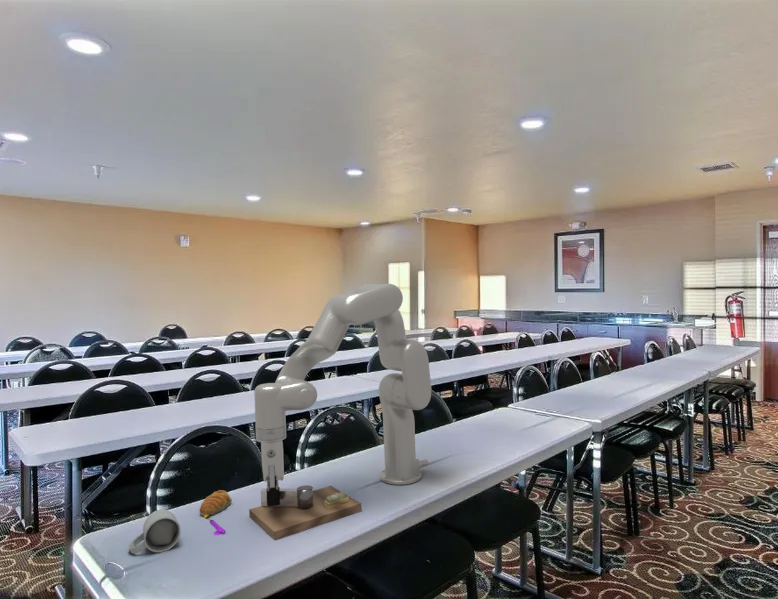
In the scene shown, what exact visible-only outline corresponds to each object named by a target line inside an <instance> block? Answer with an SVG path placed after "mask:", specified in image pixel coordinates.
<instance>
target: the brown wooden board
mask: <svg viewBox="0 0 778 599" xmlns="http://www.w3.org/2000/svg"><path fill="white" fill-rule="evenodd" d="M248 512H249V514H248V515H249V518H250V519H251V520H252V521H253V522H254V523H255V524H257V526H258V527H260V528H261V529H262V530H263V531H264V532H265V533H266V534H268V535H269V537H270V538H272V539H273V540H274V541H277V540H279V539H283V538H286V537H288V536H291V535H294V534H297V533H300V532H304V531H306V530H310V529H312V528H315V527H317V526H321V525H324V524H327V523H330V522H333V521H335V520H339V519H341V518H345V517H348V516H350V515H351V516H352V515H354V514H357V513H359V512H360V513H361V512H362V502H360V501H358V500H356V499H354V498H352V497H351V496H349V495H348V494H347V492H346V491H341V490H339V489H337V488H336V487H333V486H332V485H329V486H326V487H321V488H318V489H315V490H314V489H313V506H312V507H310V508H304V509H303V508H299V507H298V506H261V505H259V506H256V507H253V508H249V509H248Z"/></svg>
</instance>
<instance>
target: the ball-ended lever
mask: <svg viewBox="0 0 778 599" xmlns="http://www.w3.org/2000/svg"><path fill="white" fill-rule="evenodd" d="M313 488H314V487H313V486H312V485H306V484H305V485H301V486H300V485H299V486H298V487H296V488H280V505H276V506H298V507H299V508H303V509H304V508H310V507H312V506H313V491H314V489H313ZM266 490H267V488H262V489H261V490H260V506H267V492H266Z"/></svg>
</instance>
